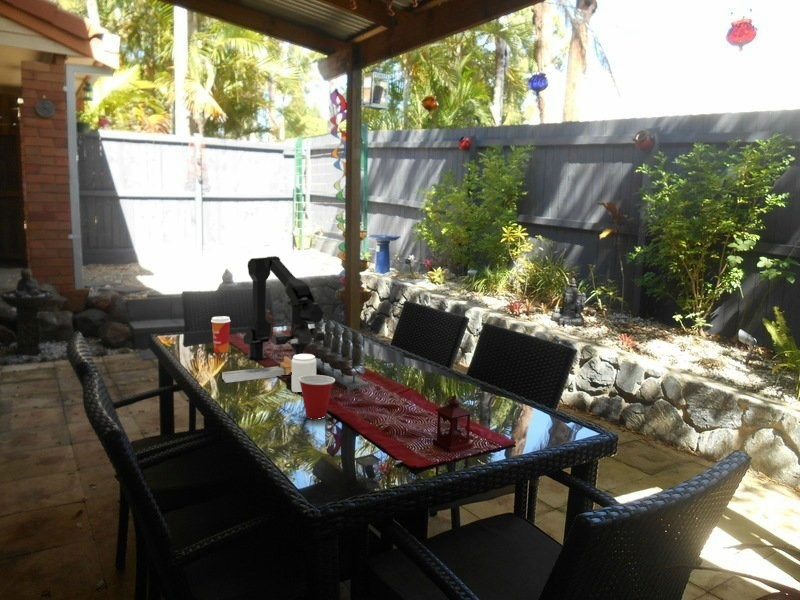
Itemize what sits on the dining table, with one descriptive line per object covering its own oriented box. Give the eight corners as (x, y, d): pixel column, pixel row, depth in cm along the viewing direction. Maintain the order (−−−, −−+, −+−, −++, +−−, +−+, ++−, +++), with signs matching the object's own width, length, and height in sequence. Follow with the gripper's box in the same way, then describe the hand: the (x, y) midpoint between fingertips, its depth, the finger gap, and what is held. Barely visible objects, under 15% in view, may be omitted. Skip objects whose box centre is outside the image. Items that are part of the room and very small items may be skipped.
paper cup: (210, 350, 267) (209, 316, 265) (229, 348, 270) (228, 315, 268) (213, 354, 260) (212, 320, 258) (232, 353, 263) (232, 319, 261)
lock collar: (280, 371, 239) (280, 356, 238) (286, 370, 240) (286, 356, 239) (286, 376, 233) (286, 361, 232) (292, 375, 234) (292, 361, 233)
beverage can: (303, 396, 212) (303, 361, 210) (286, 391, 217) (286, 356, 215) (321, 391, 218) (321, 356, 216) (304, 386, 223) (304, 352, 221)
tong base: (222, 379, 228) (222, 372, 228) (287, 371, 240) (287, 365, 239) (226, 383, 224) (226, 376, 223) (291, 375, 235) (291, 368, 235)
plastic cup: (342, 414, 197) (342, 376, 194) (320, 425, 187) (320, 385, 185) (313, 407, 202) (313, 370, 200) (290, 418, 193) (290, 378, 191)
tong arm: (278, 372, 238) (277, 366, 237) (279, 373, 236) (279, 367, 235) (222, 378, 228) (222, 372, 228) (223, 380, 227) (223, 373, 226)
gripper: (281, 324, 224) (281, 368, 227) (331, 320, 233) (331, 363, 236) (271, 318, 234) (271, 360, 236) (319, 315, 243) (319, 355, 246)
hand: (298, 360), depth 238 cm, fingers closed
